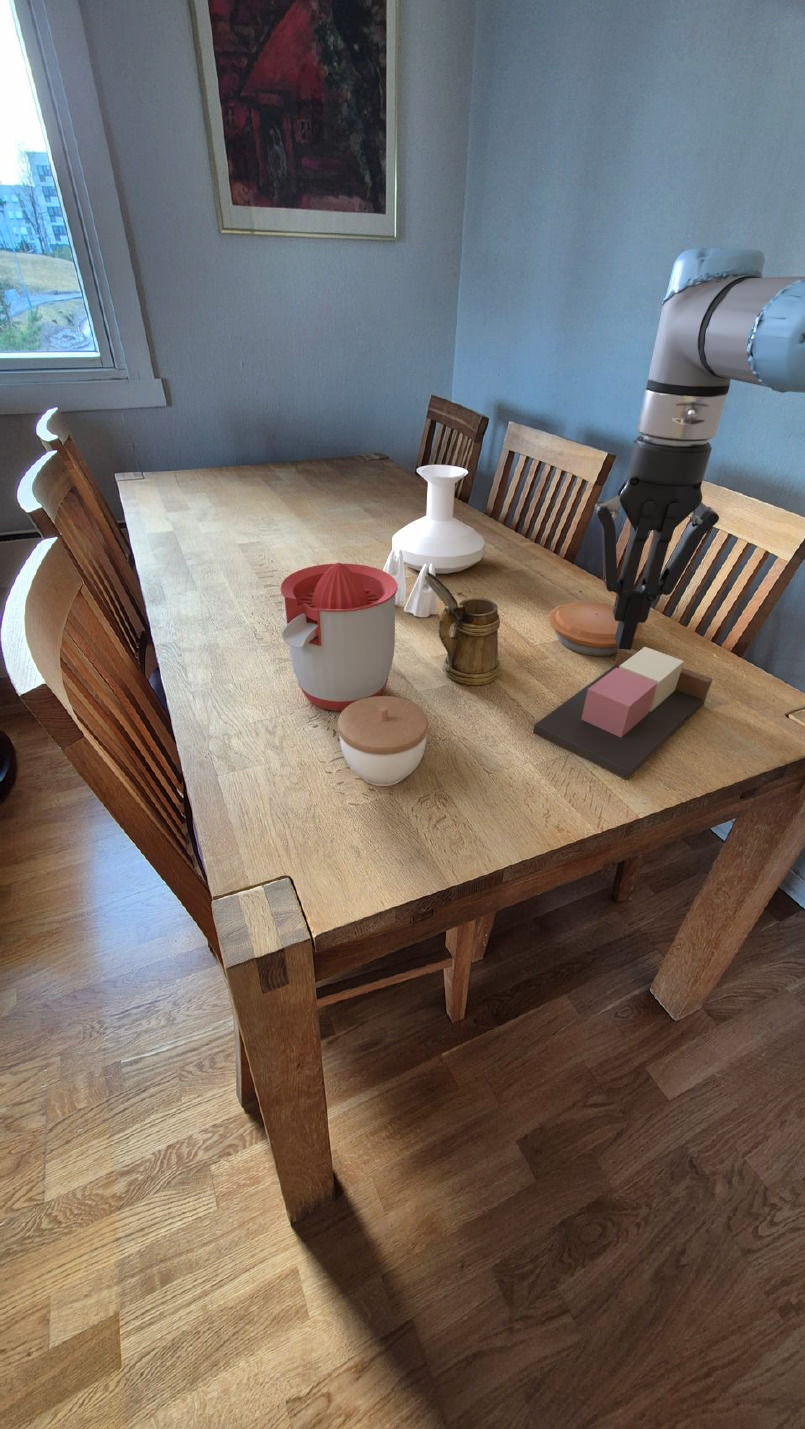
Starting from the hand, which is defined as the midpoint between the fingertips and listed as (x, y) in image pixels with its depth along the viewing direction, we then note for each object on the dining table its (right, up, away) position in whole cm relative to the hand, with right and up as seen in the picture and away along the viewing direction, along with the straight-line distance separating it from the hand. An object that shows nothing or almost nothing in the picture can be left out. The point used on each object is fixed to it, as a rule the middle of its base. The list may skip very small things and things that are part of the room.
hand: (622, 644), depth 77 cm
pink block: (+2, -9, +10) cm, 13 cm away
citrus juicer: (-36, -6, +16) cm, 40 cm away
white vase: (-19, +24, +60) cm, 67 cm away
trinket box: (-29, -16, +2) cm, 34 cm away
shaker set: (-27, +11, +40) cm, 49 cm away
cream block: (+8, -6, +15) cm, 18 cm away
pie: (+6, +4, +31) cm, 32 cm away
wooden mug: (-18, -3, +21) cm, 28 cm away
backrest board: (+4, -9, +12) cm, 16 cm away
